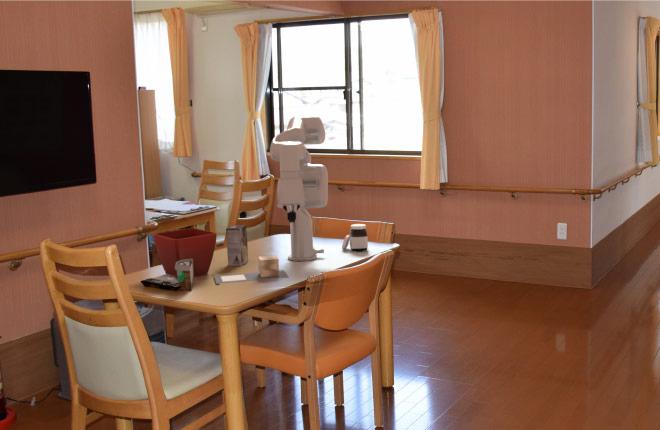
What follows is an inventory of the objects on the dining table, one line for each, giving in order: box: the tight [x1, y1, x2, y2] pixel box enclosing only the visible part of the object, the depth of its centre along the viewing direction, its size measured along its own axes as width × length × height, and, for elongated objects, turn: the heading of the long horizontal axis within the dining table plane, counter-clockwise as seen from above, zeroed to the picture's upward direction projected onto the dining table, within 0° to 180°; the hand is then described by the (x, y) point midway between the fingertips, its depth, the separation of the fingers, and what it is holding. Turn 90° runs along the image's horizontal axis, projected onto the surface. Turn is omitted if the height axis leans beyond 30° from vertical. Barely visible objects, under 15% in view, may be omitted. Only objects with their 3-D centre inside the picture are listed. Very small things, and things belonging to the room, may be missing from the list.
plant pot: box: [152, 227, 217, 279], centre depth 298 cm, size 19×19×17 cm
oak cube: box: [257, 255, 280, 278], centre depth 289 cm, size 7×7×7 cm
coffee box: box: [225, 224, 249, 267], centre depth 314 cm, size 9×6×16 cm
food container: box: [175, 259, 195, 292], centre depth 275 cm, size 12×6×10 cm, turn 5°
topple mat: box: [213, 269, 290, 286], centre depth 288 cm, size 28×13×1 cm, turn 103°
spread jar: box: [341, 223, 369, 253], centre depth 335 cm, size 12×11×12 cm
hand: (291, 221), depth 289 cm, fingers closed
